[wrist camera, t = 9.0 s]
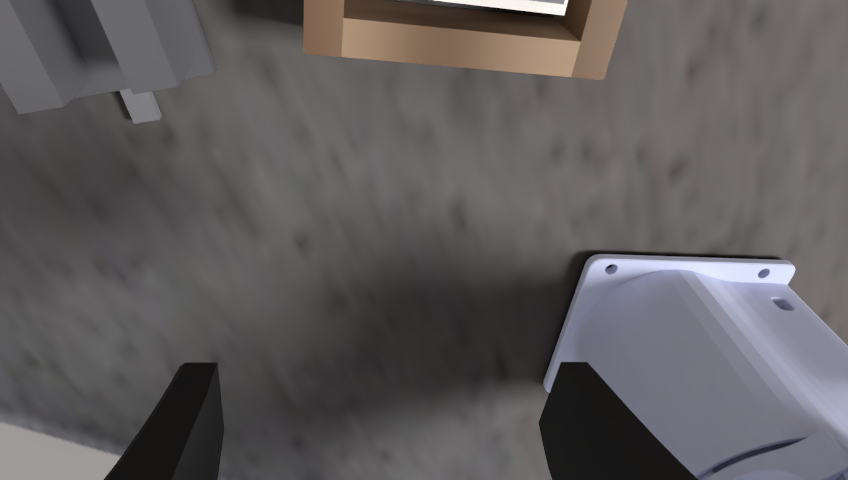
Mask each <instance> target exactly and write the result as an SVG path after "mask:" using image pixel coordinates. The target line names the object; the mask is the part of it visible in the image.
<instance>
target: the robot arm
mask: <svg viewBox="0 0 848 480" xmlns="http://www.w3.org/2000/svg"><path fill="white" fill-rule="evenodd" d="M611 264H613V265H612V266H611V267H610V268H607V269H606V267H607V266H609V265H611ZM761 270H762V271H761ZM794 272H795V267H794V266H793V265H792V264H791V263H790V262H789V261H787V260H769V259H738V258H708V257H677V256H646V255H616V254H597V255H594V256H591V257H590V258H589V259H588V260H587V261H586V263H585V266H584V268H583V271H582V274H581V277H580V280H579V283H578V285H577V288H576V291H575V294H574V297H573V300H572V302H571V305H570V308H569V311H568V314H567V317H566V319H565V322H564V325H563V328H562V331H561V334H560V336H559V339H558V342H557V345H556V348H555V351H554V353H553V356H552V359H551V362H550V365H549V368H548V370H547V373H546V376H545V379H544V383H543V384H544V387H545V389H546V391H547V392H549V396H548V399H547V401H546V404H545V407H544V410H543V412H542V415H541V418H540V420H539V426H540V431H541V436H542V441H543V446H544V450H545V455H546V459H547V463H548V467H549V471H550V474H551V477H552V480H848V346H847V345H846V344H845V343H844V342H843V341H842V340H841V339H840V338H839V337H838V336H837V335H836V334H835V333H834V332H833V331H832V330H831V329H830V328H829V327H828V326H827V325H826V324H825V323H824V322H823V321H822V320H821V319H820V318H819V317H818V315H817V314H816V313H815V312H814V311H813V310H812V309H811V308H810V307H809V306H808V305H807V304H806V303H805V302H804V301H803V300H802V299H801V298H800V297H799V296H798V295H797V294H796V293H795V292H794V291H793V290H792V289H791V288H790V287H789V286H788V285H787V284H788V283H789V281H790V280H791V278H792V276H793V275H794ZM223 434H224V423H223V413H222V403H221V393H220V383H219V373H218V363H184V364H183V365H181V366H180V367H179V369H178V371H177V373H176V374H175V376H174V378H173V380H172V381H171V383H170V385H169V386H168V388H167V390H166V391H165V393H164V395H163V396H162V398H161V399H160V401H159V403H158V404H157V406H156V407H155V409H154V410H153V412H152V413H151V415H150V416H149V418H148V419H147V421H146V423H145V424H144V425H143V427H142V428H141V430H140V431H139V433H138V434H137V435H136V437H135V438H134V440H133V441H132V442H131V444H130V445H129V447H128V448H127V449H126V451H125V452H124V454H123V455H122V457H121V458H120V459H119V461H118V462H117V464H116V465H115V466H114V467H113V469H112V470H111V471H110V473H109V474H108V475H107V476H106V477H105V479H104V480H217V478H218V471H219V464H220V457H221V449H222V441H223Z"/></svg>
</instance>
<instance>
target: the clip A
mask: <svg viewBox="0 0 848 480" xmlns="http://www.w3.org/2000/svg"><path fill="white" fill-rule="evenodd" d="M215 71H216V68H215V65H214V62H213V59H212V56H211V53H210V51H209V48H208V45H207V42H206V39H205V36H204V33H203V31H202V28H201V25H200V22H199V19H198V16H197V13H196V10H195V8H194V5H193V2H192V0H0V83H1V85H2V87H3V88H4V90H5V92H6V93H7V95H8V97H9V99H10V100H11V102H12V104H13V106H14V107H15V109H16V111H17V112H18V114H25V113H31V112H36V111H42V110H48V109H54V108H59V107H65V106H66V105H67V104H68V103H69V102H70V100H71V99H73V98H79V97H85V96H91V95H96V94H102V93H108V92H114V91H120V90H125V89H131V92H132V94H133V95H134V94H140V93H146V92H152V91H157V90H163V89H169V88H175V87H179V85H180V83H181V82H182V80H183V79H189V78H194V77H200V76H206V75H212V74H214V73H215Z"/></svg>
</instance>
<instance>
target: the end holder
mask: <svg viewBox="0 0 848 480" xmlns="http://www.w3.org/2000/svg"><path fill="white" fill-rule="evenodd" d="M627 2H628V0H568V4H567V7H566V11H565V15H555V14H554V17H553V18H548V17H539V16H530V15H520V14H511V13H502V12H492V11H483V10H473V9H464V8H455V7H445V6H436V5H426V4H417V3H408V2H398V1H389V0H304V29H303V53H304V54H315V55H326V56H338V57H349V58H360V59H372V60H383V61H394V62H405V63H417V64H428V65H439V66H451V67H462V68H473V69H485V70H496V71H507V72H519V73H530V74H541V75H552V76H564V77H575V78H586V79H598V80H604V77H605V74H606V71H607V67H608V64H609V61H610V58H611V54H612V51H613V48H614V45H615V41H616V38H617V35H618V32H619V28H620V25H621V22H622V19H623V15H624V12H625V9H626V6H627Z"/></svg>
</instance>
